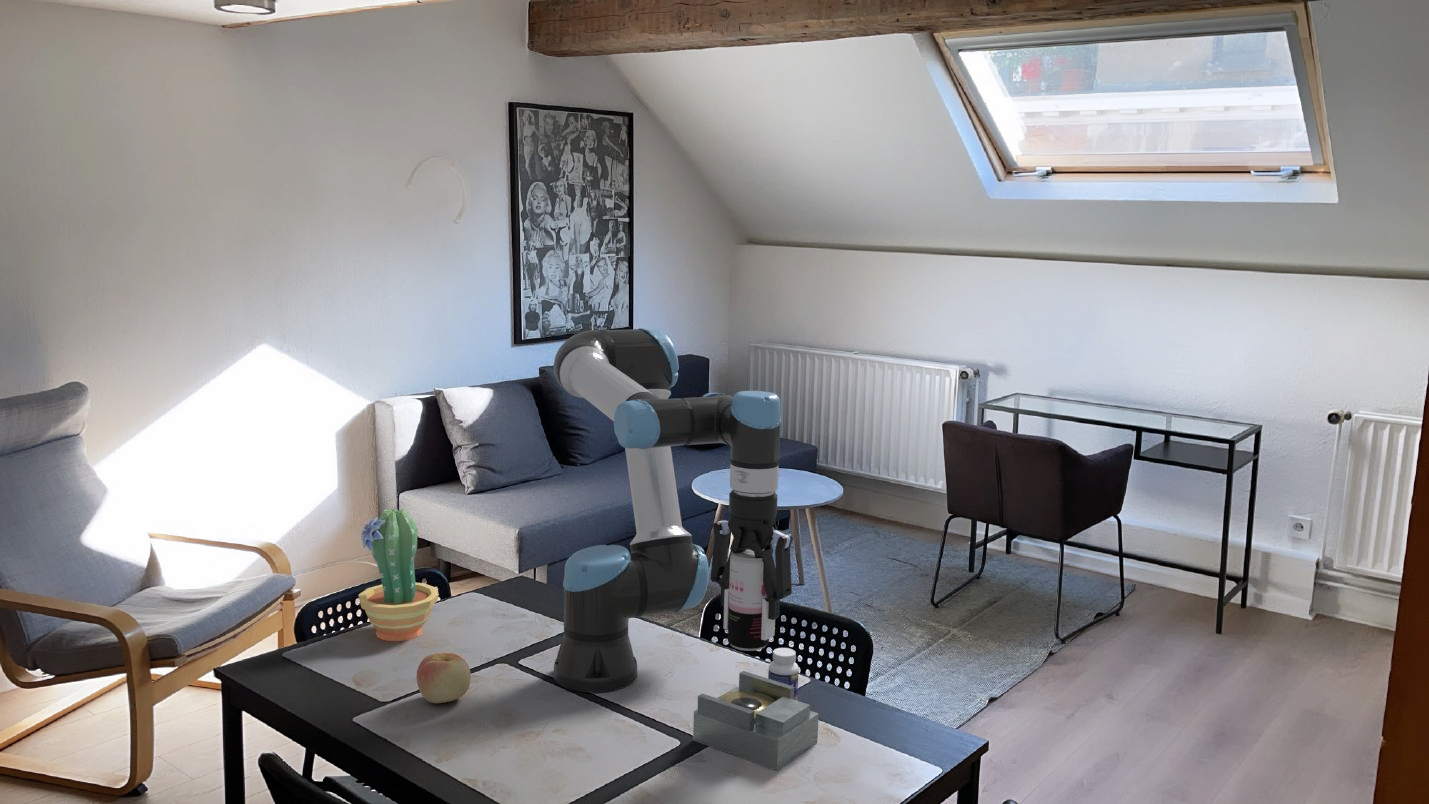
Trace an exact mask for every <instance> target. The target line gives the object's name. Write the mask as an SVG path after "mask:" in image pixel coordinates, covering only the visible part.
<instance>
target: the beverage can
mask: <svg viewBox="0 0 1429 804" xmlns="http://www.w3.org/2000/svg"><path fill="white" fill-rule="evenodd" d="M763 550H764V549H763ZM763 550H762V551H763ZM731 554H732V555H731V556H730V581H729V614H728V630H727V642H728V644H729V645H730V646H731V647H732V648H734V649H737V650H739V651H748V652H749V651H751V652H753V651H759V650H762V649H765V648H766V646H768V645H769V643H770V638H769V639H767V640H761V628H762V600H763V599H765V598H767V595H766V591H765V587H764V583H763V564H764V563H763V561H762V560H763V558H756V557H755V554H754V551H751V550H750V549H746V550H745V551H743V552H740V553H737V554H736V553H733V551H732V553H731Z"/></svg>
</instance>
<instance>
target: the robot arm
mask: <svg viewBox="0 0 1429 804" xmlns="http://www.w3.org/2000/svg"><path fill="white" fill-rule="evenodd" d="M677 353H678V352H677V350H676V347H675V345H674V343H673V342H672V340H671V339H670V337H669V336H668V335H667V334H666V333H664V331H661V330H659V329H646V328H643V327H642V328H640V327H639V328H633V329H632V328H631V329H600V330H598V329H590V330H586V331H585V330H584V331H581V332H579V333H578V332H577V333H575V334H574V335H572V336H571V337H569V338H567V339H566V340H565V341H564V343H562V344H561V346H559V348H558V350H557V351H556V354H555V357H554V363H553V373H554V377H555V378H556V381H557V383H558V384H559V386H560V387H561V388H562V389H564V391H566V392H567V393H568V394H570V395H571V396H573V397H577V398H581V399H585V400H586V401H587V402H589V403H590V404H591V405H593V407H595V408H596V409H598V410H599V412H601V413H602V414H604V415H605V416H606V417H608V418H609V420H611V421H613V429H614V434H615V437H616V438H617V442H618V443H619V445H620V446H622V447H623V448H625V450H624V451H625V456H626V465H627V471H628V479H629V485H630V486H629V487H630V494H631V502H632V508H633V517H634V522H635V530H636V531H635V532H636V534H635V536H634V537H633V539H632V540H631V542H630V543H629V546H630V547H629V548H630V551H629V549H627V547H625V546H623V545H618V544H609V545H607V544H598V545H593V546H589V547H586V548H582V549H579V550H578V551H575V552H574V553H573V554H572V555H570V556H569V557H568V558H567V560H566V562H565V565H564V576H563V581H562V585H563V586H562V587H563V637H562V640H561V643H560V646H559V649H558V651H557V654H556V655H557V656H556V658H555V661H554V663H553V679H554V681H555V682H556V683H557V685H559V686H561V687H562V688H565V689H568V690H571V691H576V692H580V693H582V692H583V693H607V692H611V691H612V692H613V691H617V690H620V689H623V688H626V687H628V686H630V685H631V684H633V683H634V682H635V681H636V680H637V678H638V662H637V659H636V657H635V655H634V652H633V651H634V650H633V647H632V644H631V640H630V636H629V619H632V618H639V617H646V616H652V615H653V616H654V615H660V614H667V613H672V612H673V613H678V612H681V611H683V610H689V609H694V608H695V607H697V606H698V605H699V604H700V603H701V602H702V601H703V599H704V597H705V595H706V592H707V589H708V585H709V579H710V581H711V582H713V583H717V584H718V585H719V587H720V606H721V607H723V629H724V630H727V631H728V614H729V581H730V556H731V555H732V554H731V553H732V551H733V553H736V554H737V553H740V552H743V551H745V550H746V549H750V550H751V551H754V554H755V557H756V558H763V560H762V561H763V563H764V564H763V583H764V587H765V591H766V595H767V598H765V599H763V600H762V628H761V640H767V639H769V640H770V638H773V637H774V636H775V632H776V631H775V630H776V627H775V626H776V619H778V618H779V617H780V611H781V610H780V607H781V600H782V599H785V598H787V597H789V596H791V595H792V594H793V593H792V591H793V589H792V586H793V585H792V564H791V547H792V543H793V539H794V538H793V535H792V534H791V533H787V534H785V533H783V532H781V531H779V530H778V527H777V524H776V517H777V514H778V494H777V493H776V491H777V490H778V489H779V459H780V447H781V446H780V444H781V443H780V442H781V441H780V439H781V425H782V414H781V399H780V397H779V396H778V394H776V393H774V392H770V391H763V390H742V391H738V392H735V393H734V395H733V396H732V395H730V394H727V393H723V392H721V393H720V392H719V393H718V392H708V393H705V394H704V395H701V396H699V397H683V398H682V397H681V398H680V397H679V398H669V397H670V396H671V395H672V391H671V388H672V387H674V386H675V385H676V384H677V381H678V378H679V373H678V371H679V368H680V366H679V359H678V354H677ZM705 444H707V445H708V444H725V445H727V446H729V447H730V465H729V467H730V469H729V488H730V489H731V491H730V492H729V495H728V497H729V499H728V513H729V515H730V516H729V519H728V520H726V519H722V520H719V521H717V522H714V523H712V529H713V536H714V540H713V541H714V542H713V550H712V551H713V552H712V559H711V560H712V561H711V569H710V568H709V561H708V558H707V555H706V554H705V550H704V548H702V547H701V546H700V545H697V544H694V543H693V537H692V536H693V535H692V534H691V533H690V532H688V531H687V530H686V529H685V528H684V527H683V524H682V517H681V510H680V503H679V496H678V491H677V489H678V488H677V482H676V477H675V476H676V475H675V469H674V468H675V467H674V461H673V455H672V454H673V453H672V448H671V447H676V446H678V447H679V446H691V445H693V446H694V445H705ZM730 533H731V536H732V538H733V539H732V541H731V544H730ZM773 540H774V543H773V544H772V541H773ZM729 544H730V547H729ZM773 545H774V546H775V549H773ZM763 549H764V550H763ZM729 550H730V552H729ZM762 550H763V551H762ZM774 550H775V551H774ZM728 552H729V554H728ZM773 554H774V556H773ZM774 558H775V559H774ZM709 569H710V570H709ZM709 572H710V573H709ZM709 574H710V578H709Z"/></svg>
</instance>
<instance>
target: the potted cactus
mask: <svg viewBox="0 0 1429 804" xmlns="http://www.w3.org/2000/svg"><path fill="white" fill-rule="evenodd" d="M418 529H419V528H418V526H417V524H416V523H415V521H414V519H413V518H412V517H411V516H410V514H409V513H408V512H407V511H406V510H405V508H401V509H398V508H397V507H392V509H391V510H388V509H384V510H383V511H382V512H381V515H380V516H379V517H378V516H376V517H375V518H373V519H371V520H370V521H368V522H367V523H366V524H365V526H363V530H362V531H361V540H362V546H363V549H364V548H366V547H367V549H368V550H369V552H371V555H372V557H373V559H374V562H375V564H376V565H377V568H378V572H379V577H380V581H381V584H379V585H374V586H372V587H367V588H365V590H363V591H362V592H360V593H359V594H358V599H359V604H360V606H361V609H362V610H365V613H366V616H367V619H368V621H369V622H370V624H371V625H372V626H373V627H374V629H375V631H376V632H375V634H376V637H377V638H378V639H380V640H383V641H387V642H401V641H409V640H413V639H415V638H418V637H420V636H421V635H422V634H423V629H422V628H423V626H424V625H425V623H426V621H427V620H428V619H429V618H430V615H431V614H432V613H431V612H432V610H433V607H434V604H436V603H437V602H438V599H439V595H440V594H439V591H438V588H437V587H435V586H432V585H429V584H427V583H425V582H423V583H422V582H416V575H415V557H416V552H417V550H418Z"/></svg>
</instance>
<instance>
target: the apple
mask: <svg viewBox="0 0 1429 804" xmlns="http://www.w3.org/2000/svg"><path fill="white" fill-rule="evenodd" d="M471 679H472V678H471V669H470V666H469V664H468V662H467V661H466V660H465V659H464V658H463V657H461V656H460V655H458V654H456V653H455V654H454V653H451V652H450V653H446V652H445V653H443V652H442V653H441V652H440V653H433V654H429V655H427V656H425V657H424V658H423V659H422V660H421V662H420V663H419V665H418V667H417V670H416V684H417V688H418V690H419V693H420V694H421V696H422V697H423V698H424V699H425V700H426V701H427V702H429V703H432V704H442V703H447V702H448V703H449V702H452V701H456V700H458V699H461V698H462V697H463V696H465V694H466V693H467V692H468V690H469V688H470V685H471Z"/></svg>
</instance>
